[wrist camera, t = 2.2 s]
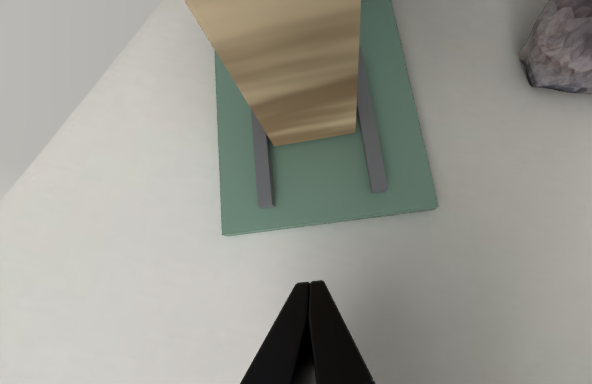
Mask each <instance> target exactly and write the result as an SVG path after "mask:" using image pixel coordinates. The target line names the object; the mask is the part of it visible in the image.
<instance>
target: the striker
mask: <svg viewBox="0 0 592 384" xmlns="http://www.w3.org/2000/svg"><path fill="white" fill-rule="evenodd" d="M184 1H185V2H186V4H187V5H188V7H189V9H190V10H191V12H192V14H193V15H194V17H195V18H196V20H197V22H198V23H199V25H200V27H201V28H202V30H203V31H204V33H205V35H206V36H207V38H208V40H209V41H210V43H211V44H212V46H213V48H214V49H215V51H216V53H217V54H218V56H219V57H220V59H221V61H222V62H223V64H224V66H225V67H226V69H227V71H228V72H229V74H230V75H231V77H232V79H233V80H234V82H235V84H236V85H237V87H238V88H239V90H240V92H241V93H242V95H243V97H244V98H245V100H246V101H247V103H248V105H249V106H250V108H251V110H252V111H253V113H254V114H255V116H256V118H257V119H258V121H259V123H260V124H261V126H262V127H263V129H264V131H265V132H266V134H267V136H268V137H269V139H270V140H271V142H272V144H273V145H274V147H275V146H281V145H286V144H292V143H298V142H304V141H310V140H316V139H322V138H328V137H334V136H340V135H346V134H352V133H355V132H356V108H357V85H358V61H359V37H360V13H361V0H184Z"/></svg>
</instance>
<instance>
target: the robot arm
mask: <svg viewBox="0 0 592 384" xmlns="http://www.w3.org/2000/svg"><path fill="white" fill-rule="evenodd" d="M240 384H375V382H374V381H373V378H372V376H371V374H370V372H369V370H368V368H367V366H366V364H365V362H364V360H363V358H362V356H361V354H360V352H359V350H358V348H357V346H356V344H355V342H354V340H353V338H352V336H351V334H350V332H349V330H348V328H347V326H346V324H345V322H344V320H343V318H342V316H341V314H340V312H339V310H338V308H337V306H336V304H335V302H334V300H333V298H332V296H331V294H330V292H329V290H328V288H327V286H326V284H325V282H324V281H322V280H320V281H312V282H311V283H309V282H301V283H297V284H296V285H295V286H294V288H293V290H292V292H291V294H290V295H289V297H288V299H287V301H286V302H285V304H284V306H283V308H282V310H281V311H280V313H279V315H278V317H277V319H276V320H275V322H274V324H273V326H272V328H271V329H270V331H269V333H268V335H267V336H266V338H265V340H264V342H263V344H262V345H261V347H260V349H259V351H258V353H257V354H256V356H255V358H254V360H253V362H252V363H251V365H250V367H249V369H248V370H247V372H246V374H245V376H244V378H243V379H242V381H241V383H240Z"/></svg>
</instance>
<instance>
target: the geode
mask: <svg viewBox="0 0 592 384" xmlns="http://www.w3.org/2000/svg"><path fill="white" fill-rule="evenodd" d="M518 55H519V59H520V61H521V62H522V63H523V64H524V65H525V67H526V74H527V78H528V81H529V84H530V85H531V86H532V87H540V88H548V89H554V90H558V91H563V92H570V93H578V92H580V93H589V94H592V0H550V1H549V2H548V3H547V5H546V6H545V8H544V9H543V11H542V13H541V14H540V16H539V17H538V19H537V21H536V23H535V25H534V28H533V30H532V33H531V35H530V37H529V39H528V40H527V42H526V44H525V45H524V46H523V48H522V49H521V51H520V52H519V54H518Z"/></svg>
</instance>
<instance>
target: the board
mask: <svg viewBox="0 0 592 384" xmlns="http://www.w3.org/2000/svg"><path fill="white" fill-rule="evenodd" d="M215 73H216V97H217V122H218V146H219V171H220V196H221V220H222V235H224V236H234V235H242V234H249V233H257V232H265V231H272V230H280V229H288V228H296V227H303V226H311V225H319V224H326V223H334V222H342V221H350V220H357V219H365V218H373V217H380V216H388V215H396V214H403V213H411V212H419V211H427V210H434V209H436V208H437V207H438V202H437V198H436V194H435V190H434V185H433V181H432V177H431V172H430V168H429V164H428V159H427V155H426V151H425V146H424V142H423V138H422V133H421V129H420V125H419V120H418V116H417V112H416V108H415V103H414V99H413V95H412V90H411V86H410V82H409V77H408V73H407V69H406V64H405V60H404V56H403V51H402V47H401V43H400V38H399V34H398V30H397V26H396V21H395V17H394V13H393V8H392V4H391V0H368V1H363V2H361V13H360V37H359V61H358V85H357V108H356V132H355V133H352V134H346V135H340V136H334V137H328V138H322V139H316V140H310V141H304V142H298V143H292V144H286V145H281V146H275V147H274V145H273V144H272V142H271V140H270V139H269V137H268V136H267V134H266V132H265V131H264V129H263V127H262V126H261V124H260V123H259V121H258V119H257V118H256V116H255V114H254V113H253V111H252V110H251V108H250V106H249V105H248V103H247V101H246V100H245V98H244V97H243V95H242V93H241V92H240V90H239V88H238V87H237V85H236V84H235V82H234V80H233V79H232V77H231V75H230V74H229V72H228V71H227V69H226V67H225V66H224V64H223V62H222V61H221V59H220V57H219V56H218V54H217V53H216V51H215Z"/></svg>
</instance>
